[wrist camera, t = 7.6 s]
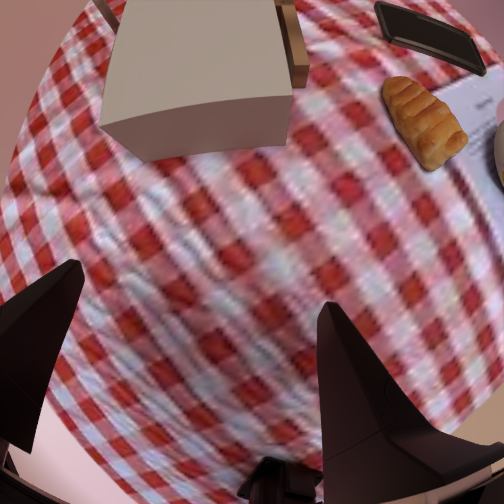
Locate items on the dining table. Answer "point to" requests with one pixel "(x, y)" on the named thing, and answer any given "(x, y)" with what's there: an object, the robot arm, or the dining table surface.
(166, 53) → the beige box
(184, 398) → the dining table surface
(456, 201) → the dining table surface
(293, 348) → the dining table surface
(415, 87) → the pastry
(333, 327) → the robot arm
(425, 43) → the phone
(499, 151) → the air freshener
